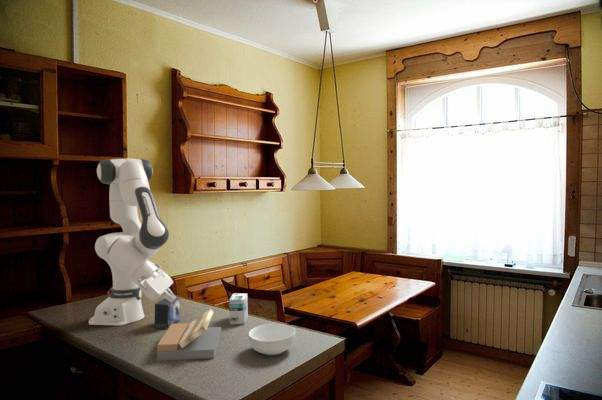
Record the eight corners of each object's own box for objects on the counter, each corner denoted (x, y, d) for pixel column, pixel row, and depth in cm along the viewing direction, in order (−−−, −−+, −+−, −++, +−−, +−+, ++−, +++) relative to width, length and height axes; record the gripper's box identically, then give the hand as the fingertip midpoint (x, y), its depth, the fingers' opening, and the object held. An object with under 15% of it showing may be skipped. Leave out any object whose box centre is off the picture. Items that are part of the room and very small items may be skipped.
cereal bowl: (262, 339, 154) (262, 321, 154) (302, 345, 148) (302, 326, 147) (239, 356, 138) (239, 336, 138) (283, 364, 132) (283, 343, 132)
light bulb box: (245, 324, 170) (244, 299, 170) (229, 324, 170) (228, 299, 170) (248, 316, 181) (247, 292, 181) (233, 316, 181) (232, 292, 180)
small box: (168, 329, 165) (167, 304, 165) (154, 328, 166) (153, 303, 166) (180, 321, 175) (180, 297, 175) (167, 320, 177) (166, 296, 176)
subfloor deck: (157, 360, 135) (156, 345, 135) (172, 336, 157) (171, 323, 157) (214, 358, 137) (213, 343, 137) (221, 334, 159) (220, 321, 159)
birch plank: (182, 348, 137) (178, 343, 137) (192, 327, 157) (189, 323, 157) (206, 330, 138) (202, 326, 137) (213, 312, 158) (210, 308, 157)
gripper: (142, 274, 134) (173, 301, 136) (159, 263, 155) (185, 287, 156) (129, 287, 134) (160, 315, 135) (147, 275, 155) (174, 299, 156)
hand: (174, 300), depth 146 cm, fingers closed
